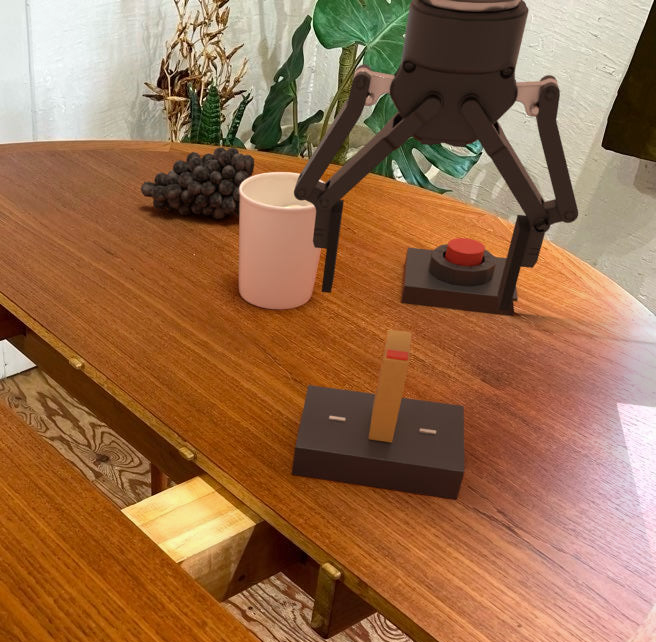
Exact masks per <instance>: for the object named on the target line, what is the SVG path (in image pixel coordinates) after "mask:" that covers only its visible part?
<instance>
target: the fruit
mask: <svg viewBox="0 0 656 642" xmlns="http://www.w3.org/2000/svg"><path fill="white" fill-rule="evenodd" d="M185 160H186V161H185ZM185 160H182V159H179V160H176V161H175V162H174V163H173V165H172V169H170V170H169V171H168V172H167V174H166V173H165V172H158V173H156V174H155V176H154V182H153V181H144V182H143V183H142V184H141V187H140V192H141V194H142V195H143V196H144V197H145V198H146V197H147V198H152V199H153V200H152V205H153V207H154V208H155V209H156V210H159V211H162V210H165V209H167V210H169V211H171V212H172V211H175V210H176V209H178V212H179V214H180V215H182V216H188V215H189V214H190V213H191V212H193V214H195V215H200V214H203V215H204V216H210V215H212V217H213V218H214V219H215V220H223V219H224V218H225V216H232V215H234V216H236V217H239V207H240V195H239V187H240V185H241V183H242V182H243V181H244V180H246V179H247V178H249V177H252V176H253V174H254V168H255V158H254V157H253V156H252V155H250V154H243V153H241V152H240V151H239V150H238V149H237V148H235V147H230V148H228V149H226V148H225V147H218V148H215V149H214V151H213V153H209V152H207V153H205V154H203V156H202V157H201V156H200V154H199V153H198V152H195V151H192V152H190V153H188V155H187V156H186V159H185Z"/></svg>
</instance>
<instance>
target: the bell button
mask: <svg viewBox="0 0 656 642" xmlns="http://www.w3.org/2000/svg"><path fill="white" fill-rule="evenodd" d="M447 244H448V246H447V250H446V255H445V259H446V260H447V261H448V262H450V263H453V264H456V265H461V266H478V265H480V264H481V263H482V259H483V255H484V251H485V250H486V247H485V244H483V243H482V242H480V241H479V240H476V239H473V238H467V237H457V238H452V239H450V240H449V241H448V242H447Z"/></svg>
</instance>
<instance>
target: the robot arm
mask: <svg viewBox="0 0 656 642" xmlns="http://www.w3.org/2000/svg"><path fill="white" fill-rule="evenodd" d="M529 10H530V9H529V7H528V6H527V3H526V1H524V0H411V1H410V4H409V8H408V15H407V21H406V28H405V34H404V42H403V46H402V52H401V60H400V64H399V66H398V68H397V70H396V72H395V73H394V74H389V73H385V72H379V71H372V68H371V66H370V65H368V64H360V65H358V66H357V67H356V69H355V71H354V75H353V78H352V82H351V87H350V90H349V96H348V97H347V99H346V100H345V102H344V103H343V105H342V107H341V108H340V110H339V112H338V113H337V115H336V117H335V118H334V120H333V121H332V123H331V124H330V126H329V128H328V129H327V131H326V133H325V134H324V135H323V137H322V139H321V140H320V142H319V143H318V145H317V147H316V148H315V149H314V151H313V153H312V155H311V156H310V158H309V160H307V162H306V163H305V166H304V168H303V169H302V170H301V172H300V173H299V174H300V175H299V177H298V180H297V183H296V186H295V189H294V196H295V198H296V199H298V200H300V201H301V200H306V201H308V202H310V203H312V204H313V205H314V206H315V208H316V217H315V226H314V235H313V244H314V247H315V248H321V249H324V250H325V259H324V269H323V275H322V282H321V283H322V285H321V293H328V294H331V293H332V289H333V285H334V279H335V273H336V272H335V271H336V265H337V257H338V248H339V242H340V234H341V225H342V219H343V211H344V202H345V199H343V198H344V197H345V196H346V195H347V194H348V193H349V192H350V191H352V189H353V188H354V187H356V186H357V185H358V184H359V183H360V182H361V181H362V180H363V179H364V178H365V177H366V176H368V175H369V174H370V173H371V172H372V171H374V169H376V167H378V166H379V165H380V164H381V163H382V162H383V161H384V160H385V159H386V158H387V157H388V156H390V155H391V154H392V153H393V152H394V151H395V150H398V149H399V148H400V147H401V146H403V145H404V144H405V143H406V142H407V141H408V140H409V139H410V138H411V137H412V138H413V139H414V140H416V141H418V142H420V145H426V146H433V145H440V144H446V145H449V146H451V147H454V148H455V147H456V148H467V145H470V144H473V143H475V142H477V141H478V142H479V144H480V145H481V147H482V148H483V151H484V152H485V153H486V155H487V156H488V157H489V158H490V159H491V161H492V163H493V164H494V166H495V168H496V169H497V170H498V173H499V174H500V176H501V177H502V179H503V180H504V182H505V184H506V185H507V187H508V189H509V190H510V192H511V194H512V195H513V197H514V198H515V199H516V202H517V204H518V205H519V206H520V208H521V210H522V212H523V213H524V215H523V214H517V215H516V219H515V223H514V227H513V231H512V234H511V239H510V242H509V247H508V251H507V255H506V258H507V259H506V263H505V266H504V270H503V274H502V278H501V282H500V286H499V290H498V305H499V310H503V311H509V309H510V306H511V302H512V298H513V294H514V290H515V287H516V288H517V283H518V279H519V275H520V271H521V268H529V269H532V268H533V269H534V267H535V265H536V264H537V263H538V260H539V257H540V253H541V249H542V245H543V241H544V239H545V236H546V235H545V234H546V233H547V232H548V231H549V230H550V228H551V226H552V225H554V224H558V223H562V222H563V223H565V224H571V223H573V222H575V221H577V219H578V217H579V210H578V205H577V201H576V197H575V193H574V188H573V184H572V180H571V176H570V172H569V168H568V163H567V159H566V156H565V151H564V147H563V143H562V139H561V134H560V130H559V126H558V121H557V119H558V111H559V104H560V97H561V90H560V87H559V84H558V80H557V78H556V76H554V75H552V74H547V75H544V76H542V77H541V78H540V79H539V80H535V81H519V82H518V81H517V79H516V67H517V64H518V59H519V56H520V50H521V46H522V41H523V39H524V37H523V36H524V33H525V29H526V23H527V20H528V16H529ZM385 94H389V96H390V99H391V101H392V103H393V104H394V107H395V108H396V110H397V112H396V113H395V114H394V115H393V116H392V117H390V119H389V120H388V121H387V122H386V123H385V125H384V126H383V128H381V129H380V130H379V131H378V132H377V133H376V134H375V135H374V136H373V137H371V139H370V140H368V141H367V143H365V145H364V146H362V147H361V148H360V149H359V150H358V151H357V152H356V153H355V154H354V155H353V156H352V157H350V158H349V160H348V161H346V162H345V163H344V164H343V165H342V166H341V167H340V168H339V169H338V170H337V171H336V172H334V174H333V175H332V176H331V177H330V178H328V180H326V181H323V183H322V182H320V181H319V180H321V179H322V177H323V176H324V174H325V172H326V171H327V169H328V167H329V166H330V165H331V163H332V161H333V160H334V159H335V157H336V156H337V154H338V152H339V151H340V149H341V147H342V146H343V144H344V143H345V141H346V140H347V138H348V137H349V135H350V134H351V132H352V131H353V129H354V127H355V126H356V124H358V121H359V119H360V117H361V116H362V113H363V111H364V108H365V107H371V106H374V105H376V103H377V102H378V100H379V99H380V97H381V96H383V95H385ZM516 102H519V103H521V104H522V105H523V107H524V110H525V114H526V115H527V116H528V117H532V118H534V117H535V121H536V126H537V131H538V134H539V135H538V136H539V139H540V142H541V147H542V150H543V151H542V152H543V155H544V160H545V162H546V167H547V170H548V175H549V178H550V183H551V186H552V190H553V193H554V199H550V200H546V201H545V199H544V198H543V196H542V195H541V193H540V191H539V189H538V187H537V186H536V184H535V183H534V181H533V179H532V178H531V176H530V174H529V173H528V171H527V169H526V168H525V166H524V164H523V162H522V161H521V159H520V157H519V156H518V155H517V152H516V151H515V150H514V148H513V146H512V145H511V143H510V141H509V140H508V138H507V136H506V134H505V132H504V130H503V128H502V126H501V124H500V123H499V120H500V119H501V118H502V117H503V116H504V115H505V114H506V113H507V112H508V111H509V110H510V109H511V108H512V107H513V106H514V105H515V103H516ZM324 182H325V183H324Z"/></svg>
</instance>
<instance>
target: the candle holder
mask: <svg viewBox="0 0 656 642" xmlns="http://www.w3.org/2000/svg"><path fill="white" fill-rule="evenodd" d="M300 174H301V173H298V172H289V171H288V172H287V171H273V172H272V171H271V172H264V173H258V174H254V175H251V176H250V177H249V178H247V179H246V180H244V181H243V182H242V183H241V185H240V187H239V195H240V207H239V216H238V218H239V219H238V221H239V222H238V292H239V294H240V296H241V298H242V299H244V301H246V302H247V303H248V304H251V305H253V306H255V307H259V308H262V309H267V310H290V309H296V308H298V307H301V306H304V305H305V304H306V303H308V302H309V301H310V299H311V298H312V296H313V292H314V288H315V283H316V278H317V272H318V267H319V263H320V257H321V253H322V248H315V247H314V244H313V235H314V226H315V217H316V208H315V206H314V205H313V204H312V203H310V202H308V201H306V200H301V201H300V200H298V199H296V198H295V196H294V189H295V186H296V183H297V180H298V177H299V175H300ZM319 181H320V182H322V183H323V182H324V183H326V181H323V180H322V179H320V180H319Z"/></svg>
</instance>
